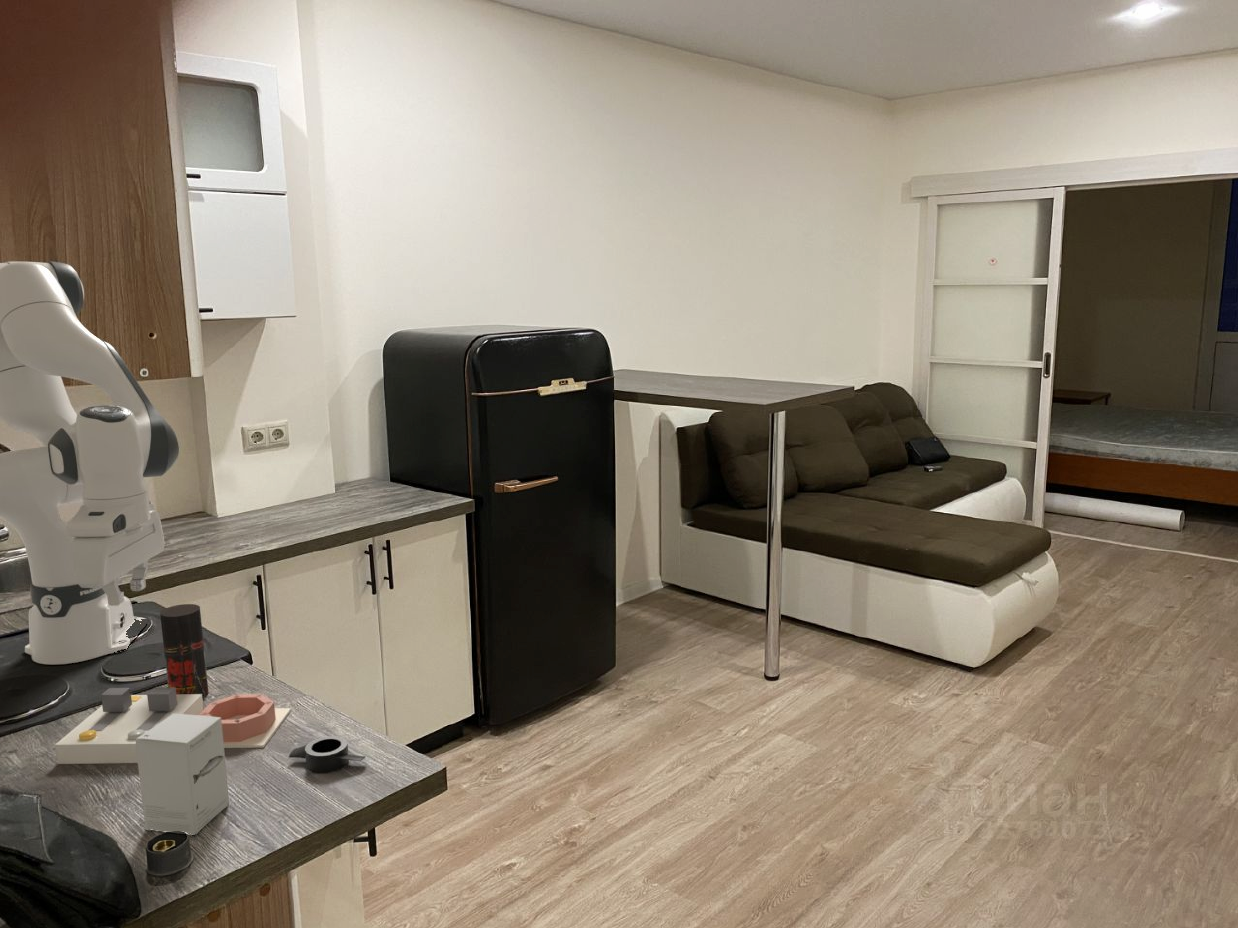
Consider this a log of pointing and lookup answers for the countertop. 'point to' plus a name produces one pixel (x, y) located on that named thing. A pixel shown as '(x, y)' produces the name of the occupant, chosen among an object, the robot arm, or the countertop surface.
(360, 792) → the countertop surface
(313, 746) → the black finned ring
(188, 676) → the deodorant
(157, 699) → the untagged switch
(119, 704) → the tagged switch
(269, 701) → the ring
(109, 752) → the breaker panel
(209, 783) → the supplement box
